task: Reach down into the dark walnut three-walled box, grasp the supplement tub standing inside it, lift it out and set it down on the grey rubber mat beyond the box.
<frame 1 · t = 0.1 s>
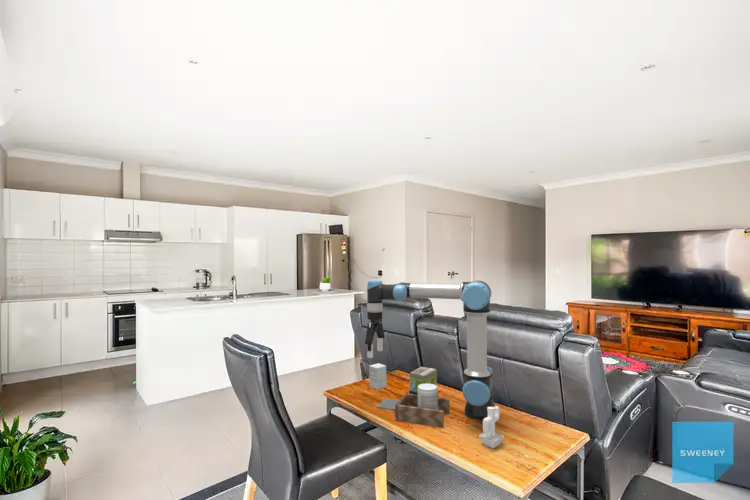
hand: (375, 354, 189), 28 cm above the table, fingers open, 13 cm apart
tea box: (423, 398, 206), on the table
walnut box: (423, 416, 182), on the table
supplement tub: (427, 418, 181), resting in walnut box
figurine: (491, 445, 155), on the table
grey mat: (391, 404, 197), on the table
supplement box: (378, 387, 224), on the table
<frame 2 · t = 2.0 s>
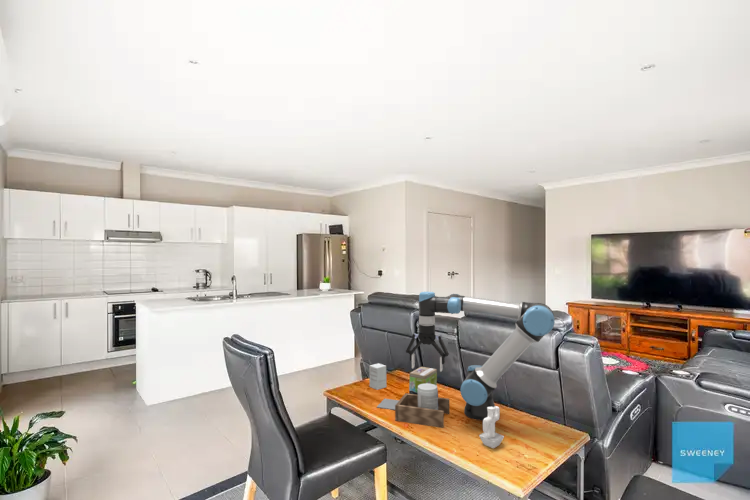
hand: (427, 369, 182), 23 cm above the table, fingers open, 13 cm apart
nothing on the table moved.
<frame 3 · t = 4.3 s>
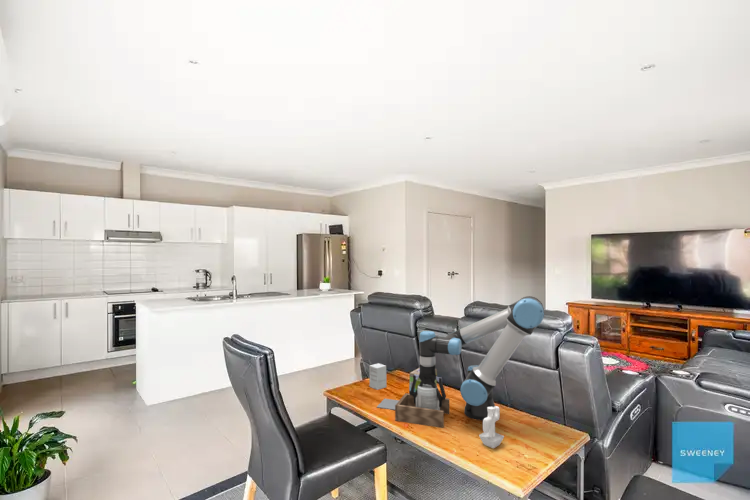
hand: (427, 411, 181), 3 cm above the table, fingers closed on supplement tub, 10 cm apart
supplement tub: (427, 417, 181), resting in walnut box, touching gripper
everything else where it was.
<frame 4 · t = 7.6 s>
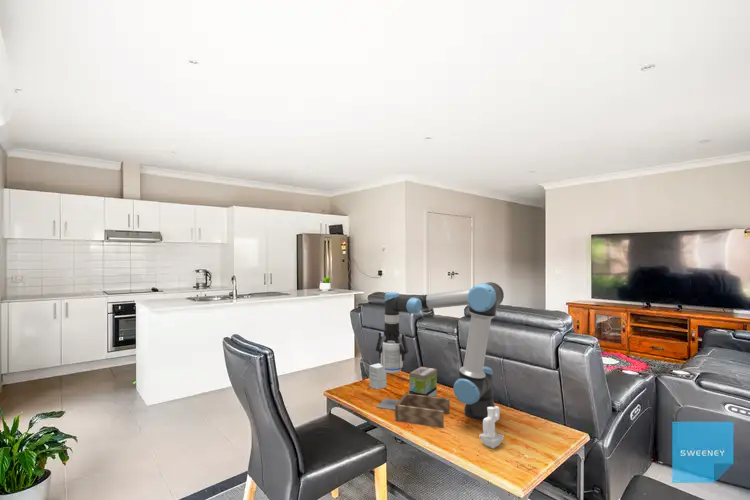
hand: (391, 366, 197), 20 cm above the table, fingers closed on supplement tub, 10 cm apart
supplement tub: (391, 371, 197), point 17 cm above the table, touching gripper
everything else where it was.
when the fingers open (5 cm above the table, at t = 11.0 s): supplement tub drops 2 cm, resting on grey mat.
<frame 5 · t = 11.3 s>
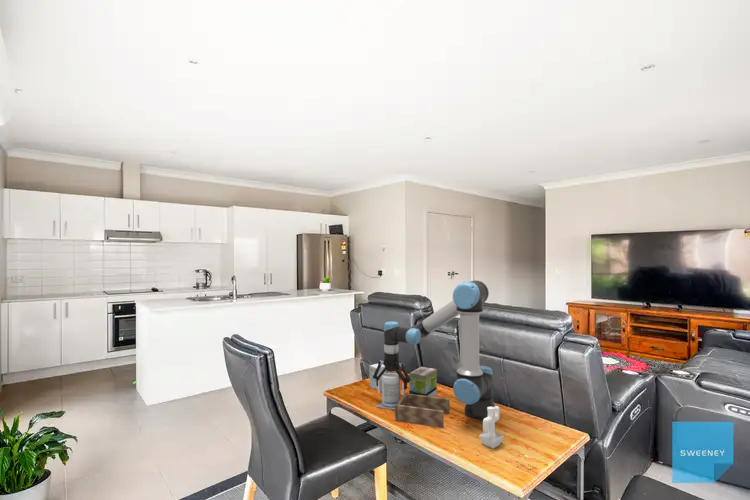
hand: (391, 394, 197), 6 cm above the table, fingers open, 12 cm apart
supplement tub: (391, 404, 197), resting on grey mat
everything else where it was.
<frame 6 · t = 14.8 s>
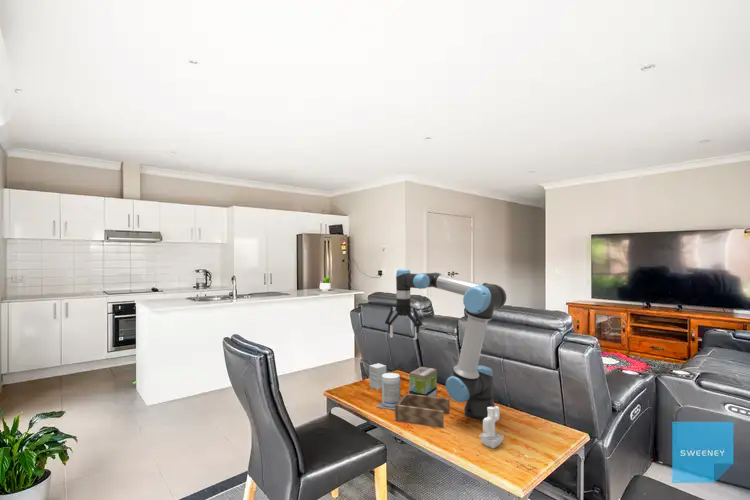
hand: (403, 338, 204), 33 cm above the table, fingers open, 13 cm apart
nothing on the table moved.
at the end: supplement tub inside the target area on the grey mat (0.3 cm from its centre), point 0.2 cm above the grey mat's base; supplement tub tilted 0°; the gripper is holding nothing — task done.
